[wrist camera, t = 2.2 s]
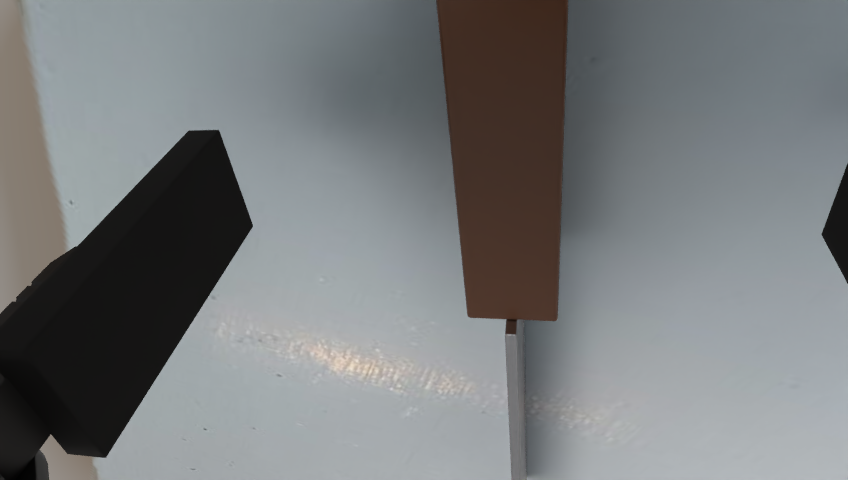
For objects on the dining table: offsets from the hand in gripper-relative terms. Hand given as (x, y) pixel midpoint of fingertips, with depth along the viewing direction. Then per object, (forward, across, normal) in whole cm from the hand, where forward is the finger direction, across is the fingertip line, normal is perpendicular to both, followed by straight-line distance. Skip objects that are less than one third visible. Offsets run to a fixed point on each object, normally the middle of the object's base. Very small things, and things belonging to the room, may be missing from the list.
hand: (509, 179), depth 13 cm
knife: (+4, 0, -7) cm, 8 cm away
